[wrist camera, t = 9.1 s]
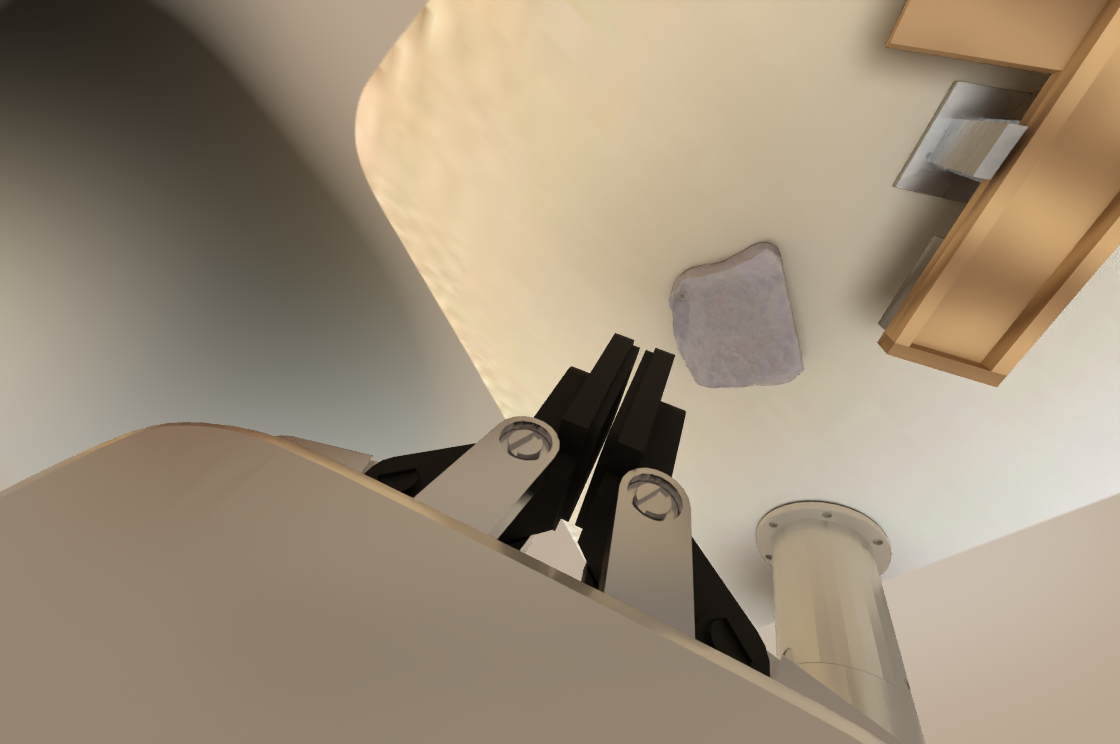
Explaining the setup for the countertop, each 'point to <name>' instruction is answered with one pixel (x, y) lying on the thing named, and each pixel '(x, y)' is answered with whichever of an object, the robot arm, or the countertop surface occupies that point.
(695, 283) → the stone block
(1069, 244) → the seesaw
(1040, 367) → the countertop surface
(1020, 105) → the fulcrum
